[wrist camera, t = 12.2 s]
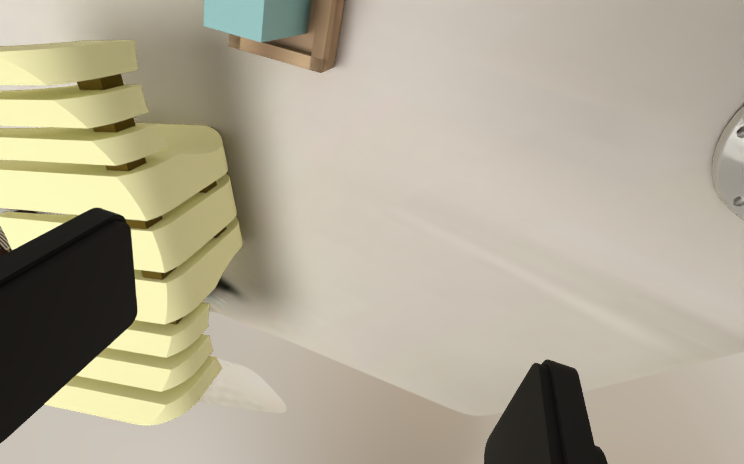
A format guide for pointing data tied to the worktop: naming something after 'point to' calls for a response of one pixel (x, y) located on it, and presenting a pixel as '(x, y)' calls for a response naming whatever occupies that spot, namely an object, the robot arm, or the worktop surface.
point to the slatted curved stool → (133, 201)
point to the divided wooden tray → (303, 39)
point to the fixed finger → (258, 18)
